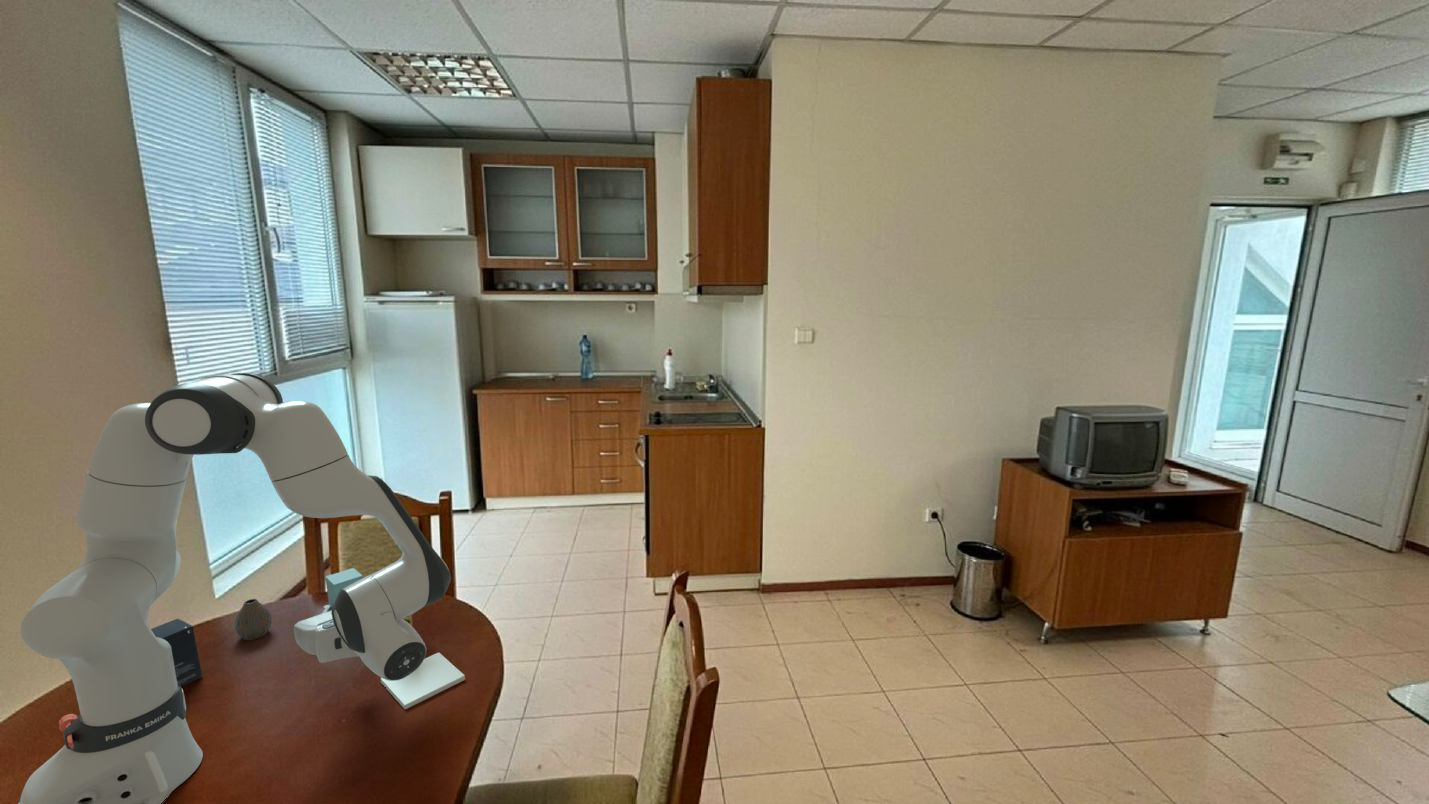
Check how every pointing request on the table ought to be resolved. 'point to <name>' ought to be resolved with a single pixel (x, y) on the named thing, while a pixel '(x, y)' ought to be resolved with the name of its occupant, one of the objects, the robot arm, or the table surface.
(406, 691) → the pad
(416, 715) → the table surface
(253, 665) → the table surface
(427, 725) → the table surface
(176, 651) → the small box
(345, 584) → the teal block
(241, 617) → the vase
